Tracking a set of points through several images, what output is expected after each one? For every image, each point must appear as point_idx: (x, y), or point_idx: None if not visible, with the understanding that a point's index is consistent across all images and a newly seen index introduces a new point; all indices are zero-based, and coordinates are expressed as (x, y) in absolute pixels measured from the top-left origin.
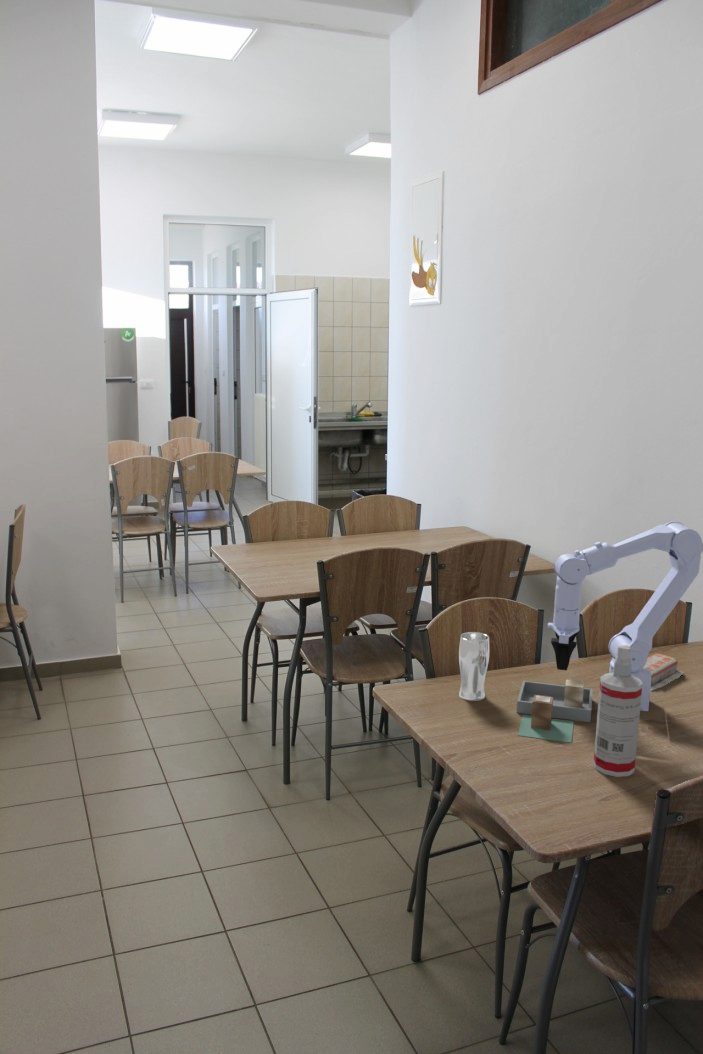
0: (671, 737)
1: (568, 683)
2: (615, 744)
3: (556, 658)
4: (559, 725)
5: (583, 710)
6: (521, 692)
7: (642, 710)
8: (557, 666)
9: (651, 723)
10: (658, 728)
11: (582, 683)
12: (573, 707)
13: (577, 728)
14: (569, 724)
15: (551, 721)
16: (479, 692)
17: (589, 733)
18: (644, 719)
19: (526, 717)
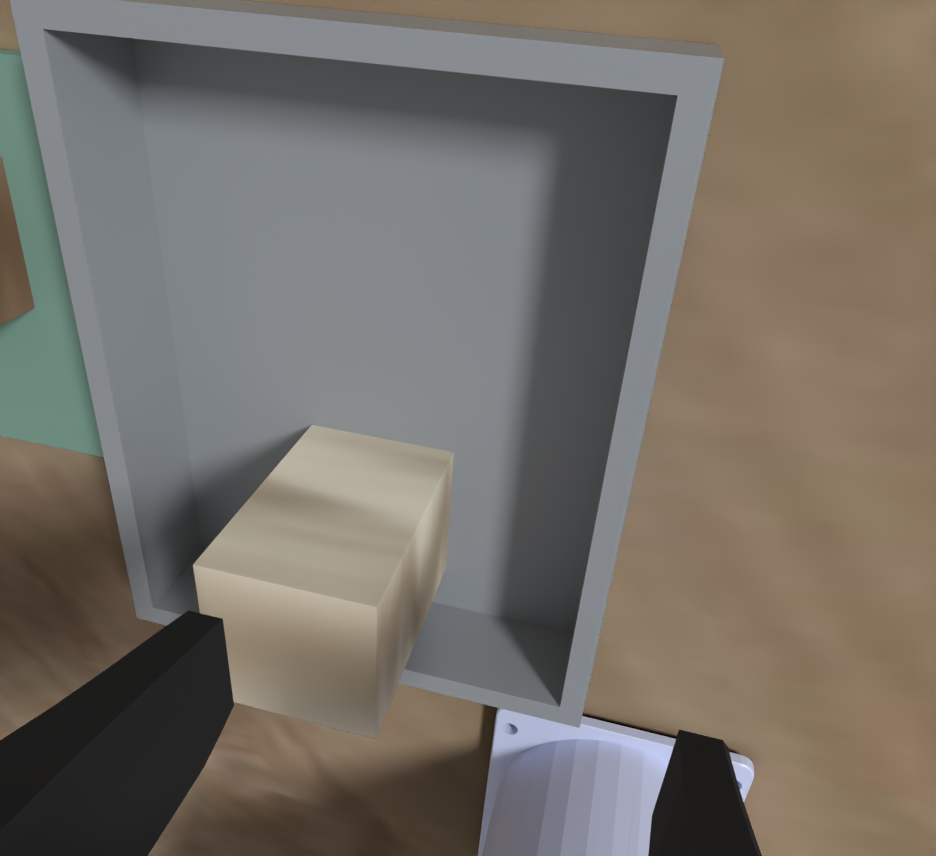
0: (214, 839)
1: (261, 603)
2: None
3: (25, 725)
4: (27, 361)
5: (133, 571)
6: (278, 41)
7: (478, 850)
8: (150, 638)
9: (345, 825)
10: (294, 830)
11: (314, 713)
12: (132, 517)
13: (100, 466)
14: (78, 430)
15: (23, 312)
16: None
17: (67, 519)
18: (386, 816)
19: (27, 98)
